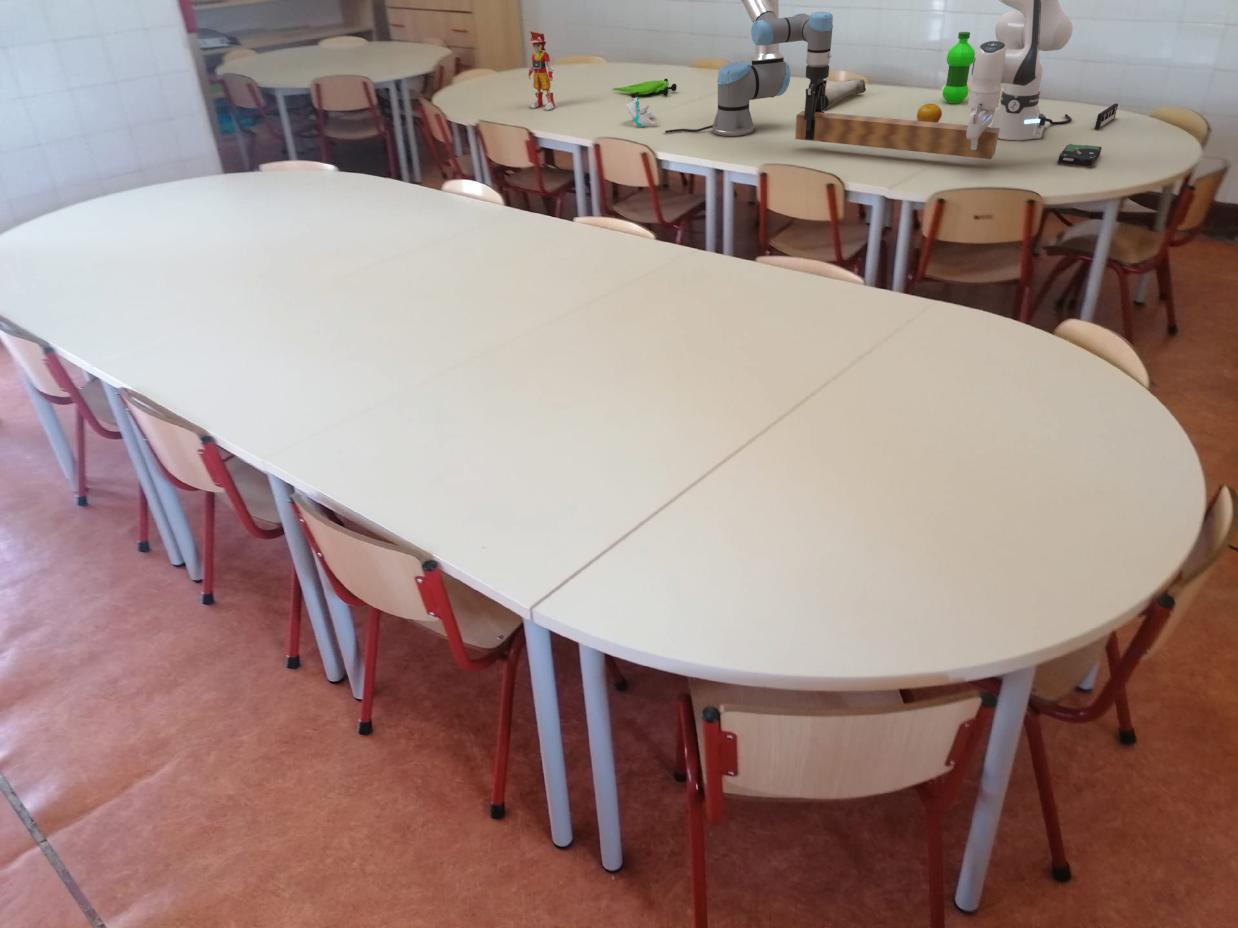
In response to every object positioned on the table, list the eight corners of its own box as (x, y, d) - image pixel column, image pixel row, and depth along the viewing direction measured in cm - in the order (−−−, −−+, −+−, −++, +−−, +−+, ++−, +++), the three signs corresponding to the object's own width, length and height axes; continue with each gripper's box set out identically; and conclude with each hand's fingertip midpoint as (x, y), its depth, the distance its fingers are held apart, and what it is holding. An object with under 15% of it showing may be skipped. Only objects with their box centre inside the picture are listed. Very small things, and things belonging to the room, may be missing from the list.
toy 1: (525, 109, 381) (517, 32, 364) (534, 104, 388) (527, 28, 371) (550, 110, 377) (543, 32, 360) (559, 105, 384) (553, 28, 367)
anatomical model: (623, 97, 354) (648, 90, 354) (629, 123, 360) (653, 116, 359) (626, 106, 342) (652, 99, 341) (633, 133, 348) (658, 126, 347)
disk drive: (1092, 168, 280) (1100, 154, 290) (1094, 159, 278) (1102, 146, 288) (1057, 164, 285) (1065, 151, 295) (1059, 155, 283) (1067, 142, 293)
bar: (795, 139, 309) (796, 115, 305) (800, 134, 313) (802, 110, 308) (991, 159, 281) (995, 133, 276) (994, 154, 285) (999, 128, 280)
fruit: (911, 116, 327) (926, 96, 324) (913, 119, 335) (927, 100, 332) (931, 129, 325) (945, 109, 322) (931, 132, 333) (946, 112, 330)
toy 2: (686, 85, 398) (631, 84, 414) (685, 72, 395) (629, 72, 411) (651, 104, 381) (596, 103, 397) (650, 92, 378) (594, 91, 394)
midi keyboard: (1098, 129, 313) (1101, 114, 311) (1094, 129, 314) (1098, 114, 311) (1114, 118, 324) (1118, 104, 321) (1111, 118, 325) (1114, 103, 322)
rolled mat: (841, 83, 376) (857, 68, 368) (853, 102, 377) (870, 86, 369) (802, 102, 359) (819, 86, 351) (815, 121, 359) (832, 105, 351)
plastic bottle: (973, 101, 354) (984, 32, 339) (955, 106, 349) (966, 36, 335) (952, 97, 361) (962, 29, 346) (934, 102, 356) (944, 33, 342)
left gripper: (818, 72, 287) (813, 145, 301) (838, 59, 300) (832, 130, 313) (796, 70, 290) (792, 143, 304) (816, 58, 303) (812, 128, 317)
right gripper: (986, 110, 267) (979, 156, 275) (1001, 92, 281) (994, 137, 289) (965, 108, 270) (958, 154, 278) (980, 91, 284) (973, 136, 292)
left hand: (812, 136), depth 309 cm, fingers closed on bar, 6 cm apart
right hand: (976, 146), depth 284 cm, fingers closed on bar, 5 cm apart
